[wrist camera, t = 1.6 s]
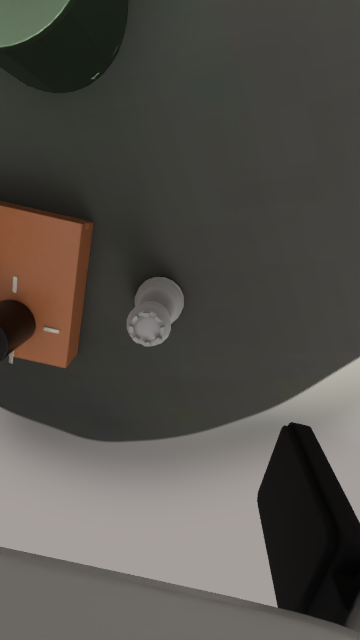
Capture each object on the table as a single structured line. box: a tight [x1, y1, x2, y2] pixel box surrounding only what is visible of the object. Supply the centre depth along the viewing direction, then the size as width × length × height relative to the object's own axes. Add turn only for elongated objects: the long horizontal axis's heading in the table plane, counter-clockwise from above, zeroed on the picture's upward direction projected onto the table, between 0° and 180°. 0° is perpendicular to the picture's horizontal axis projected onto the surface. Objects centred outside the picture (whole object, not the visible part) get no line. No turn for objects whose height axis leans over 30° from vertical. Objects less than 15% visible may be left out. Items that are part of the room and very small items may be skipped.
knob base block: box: [0, 201, 93, 368], centre depth 30 cm, size 14×10×3 cm
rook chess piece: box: [127, 277, 184, 346], centre depth 27 cm, size 4×4×8 cm
